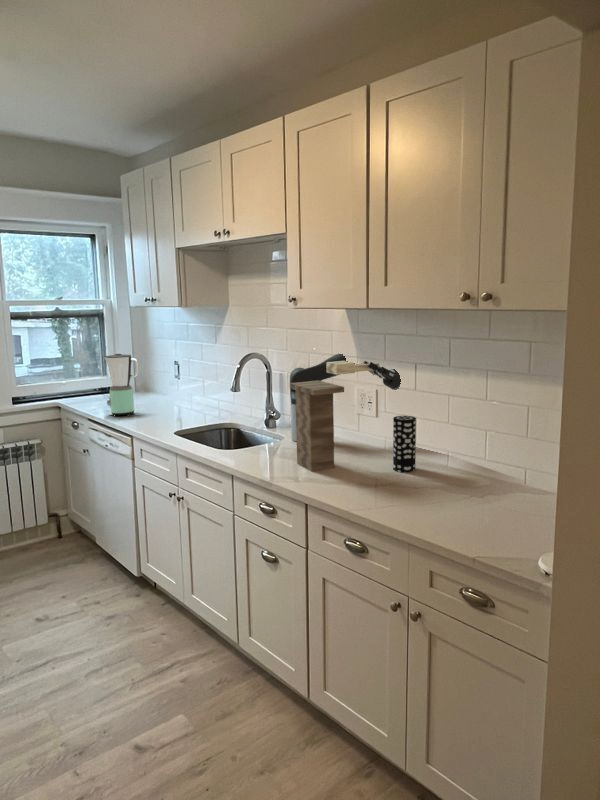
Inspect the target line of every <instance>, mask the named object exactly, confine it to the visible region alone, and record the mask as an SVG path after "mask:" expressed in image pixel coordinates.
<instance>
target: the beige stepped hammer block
mask: <svg viewBox="0 0 600 800" xmlns="http://www.w3.org/2000/svg"><path fill="white" fill-rule="evenodd" d="M373 363H374V364H376V365H377V366H380V363H378V362H373ZM368 364H369V362H368V363H367V364H363V363H361V364H356V365H355V363H353V362H348V361H336V362H326V367H327V373H331V374H336V375H337V376H340V375H347V374H348V375H349V374H355V373H357V372H366V371H368V372H369V371H370V370H373V369H371V368H369V367H368ZM339 374H340V375H339Z"/></svg>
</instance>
